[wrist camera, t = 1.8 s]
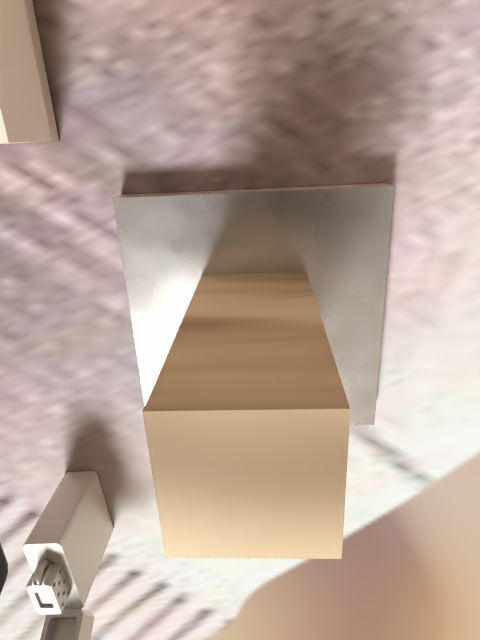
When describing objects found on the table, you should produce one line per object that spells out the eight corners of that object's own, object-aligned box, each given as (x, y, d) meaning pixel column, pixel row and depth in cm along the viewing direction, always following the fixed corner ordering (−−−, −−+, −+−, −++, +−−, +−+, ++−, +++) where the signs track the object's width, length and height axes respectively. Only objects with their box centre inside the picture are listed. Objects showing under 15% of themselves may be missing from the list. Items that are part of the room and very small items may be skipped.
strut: (305, 365, 18) (341, 558, 10) (209, 366, 18) (165, 557, 10) (306, 271, 17) (350, 408, 8) (201, 275, 17) (142, 411, 9)
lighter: (63, 472, 22) (-35, 637, 15) (96, 470, 22) (13, 637, 15) (96, 569, 25) (26, 750, 18) (125, 568, 25) (67, 750, 18)
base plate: (369, 411, 20) (374, 424, 19) (153, 413, 21) (148, 426, 20) (386, 183, 16) (394, 185, 15) (120, 194, 17) (112, 198, 16)
